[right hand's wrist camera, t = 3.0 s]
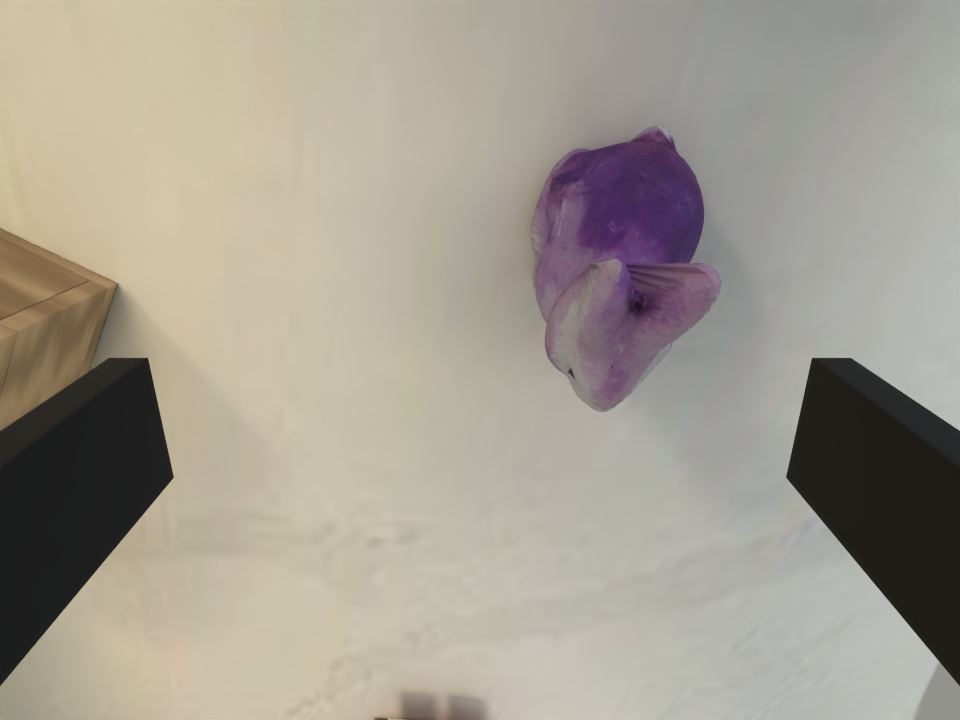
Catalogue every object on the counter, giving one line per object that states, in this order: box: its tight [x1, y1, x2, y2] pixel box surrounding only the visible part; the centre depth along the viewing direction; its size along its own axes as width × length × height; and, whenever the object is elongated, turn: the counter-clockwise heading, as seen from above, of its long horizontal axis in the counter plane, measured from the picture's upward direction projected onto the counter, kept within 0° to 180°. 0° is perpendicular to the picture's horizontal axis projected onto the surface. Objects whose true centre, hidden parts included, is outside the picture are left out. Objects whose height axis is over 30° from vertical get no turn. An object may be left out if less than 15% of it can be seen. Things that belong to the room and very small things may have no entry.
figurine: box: [531, 126, 721, 412], centre depth 28 cm, size 9×10×15 cm
